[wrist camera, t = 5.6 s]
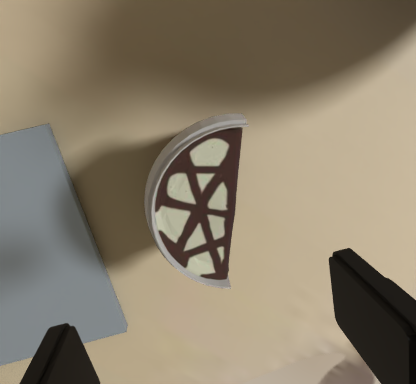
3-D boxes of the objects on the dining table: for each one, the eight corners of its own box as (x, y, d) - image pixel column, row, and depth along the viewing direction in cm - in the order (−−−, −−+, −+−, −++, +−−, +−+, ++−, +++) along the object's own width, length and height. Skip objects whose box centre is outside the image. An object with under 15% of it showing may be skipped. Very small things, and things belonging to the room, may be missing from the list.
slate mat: (-145, 168, 25) (-157, 172, 24) (48, 123, 26) (44, 124, 25) (-21, 364, 33) (-26, 372, 32) (127, 324, 33) (126, 331, 32)
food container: (151, 102, 26) (142, 108, 17) (221, 107, 27) (249, 115, 18) (149, 232, 30) (141, 296, 21) (211, 232, 31) (230, 295, 22)
